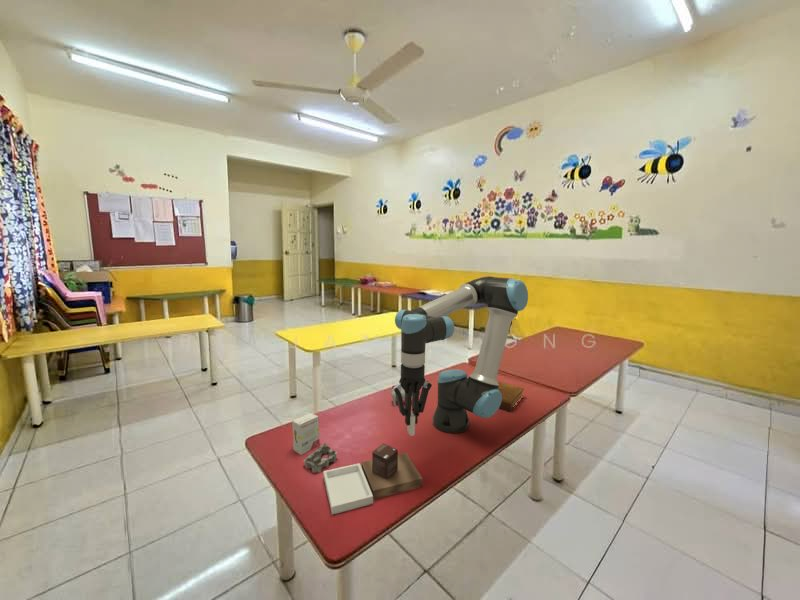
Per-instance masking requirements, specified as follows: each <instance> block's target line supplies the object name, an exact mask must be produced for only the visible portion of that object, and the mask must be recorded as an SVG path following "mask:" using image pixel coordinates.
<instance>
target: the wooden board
mask: <svg viewBox="0 0 800 600" xmlns="http://www.w3.org/2000/svg"><path fill="white" fill-rule="evenodd" d="M361 468H362V470H363V473H364V475H365V477H366V480H367V482H368V485H369V487H370V490H371V492H372V495H373V501H374V500H377V499H380V498H385V497H389V496H393V495H396V494H400V493H404V492H408V491H411V490H416V489H419V488H418V487H420V488H423V477H422V475H421V474H420V472H419V470H418V469H417V468H416V466H415V464H414V463H413V462H412V460H411V458H410V456H409V455H408V454H407V452H403V453H398V470H396V471H395V472H394V473H393V474H392V475H391V476H390V477H389V478H388V479H384V478H382V477H381V476H379V475H377V474H374V473H373V472H372V459H370V460H366V461H361ZM415 488H416V489H415Z"/></svg>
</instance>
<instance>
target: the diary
mask: <svg viewBox="0 0 800 600" xmlns="http://www.w3.org/2000/svg"><path fill="white" fill-rule="evenodd" d="M497 382H498V384H499V386H498V390H499V391H500V392H501V394H502V401H501V404H500V407H499V409H498V410H502V409H503V411H505V410H506V411H505V412H509V411H510V412H509V413H512V412H513V411H514V410H515V408H516V407H517V406H516V405H515V403H516V402H517V401H518V400H519V399H520V398H521V396H522V393H523V391H524V390H525V388H524V387H521V386H516V385H512V384H509V383H506V382H502V381H498V380H497ZM522 397H523V396H522ZM518 402H519V401H518ZM518 402H517V403H518ZM519 403H520V402H519ZM519 403H518V404H519ZM514 405H515V406H516V407H515V406H514ZM513 406H514V407H515V408H514V407H513ZM512 410H513V411H512ZM511 411H512V412H511Z"/></svg>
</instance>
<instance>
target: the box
mask: <svg viewBox="0 0 800 600" xmlns="http://www.w3.org/2000/svg"><path fill="white" fill-rule="evenodd" d="M398 454H399V451H398V448H396V447H392V446H391V445H389V444H386V443H382V444H381V445H380V446H378V447H377V448H376V449H374V450H373V451H372V454H371V455H372V457H371V458H372V459H371V460H372V472H373V473H374V474H377V475H379V476H381V477H382V478H384V479H388V478H389V477H390V476H391V475H392V474H393V473H394V472H395V471H396V470H398Z"/></svg>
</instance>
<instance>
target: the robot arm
mask: <svg viewBox="0 0 800 600" xmlns="http://www.w3.org/2000/svg"><path fill="white" fill-rule="evenodd" d="M528 300H529V292H528V288H527V286H526V283H525V282H523V280H521V279H516V278H512V277H510V278H508V277H498V276H490V275H489V276H483V277H478V278H475V279H472V280H470V281H468V282H465V283H463V284H461V285H460V286H459V288H457V289H456V290H453V291H451V292H448V293H446V294H444V295H443V296H440V297H438V298H436V299H434V300H431V301H429V302H426V303H425V304H422V305H420V306H418V307H416V308H413V309H411V310H409V309H400V310H398V312H397V313H396V315H395V317H394V324H395V326H396V328H397V329H399V330H400V337H401V338H400V340H401V342H400V345H401V346H400V348H401V349H400V363H401V364H400V379H399V380H398V384H396V385H392V387H391V388H392V389H391V390H394V391H395V394H396V398H397V399H396V403H397V406H398V410H399V411H398V412H399V413H400V414H401V415H402V416H403V417H404V421H405V422H404V423H405V424H406V426H407V427H406V428H407V429H406V430H407V431H406V432H407V433H408V435H409V436H410V437H411V436H415V435H416V434H415V433H416V432H415V431H416V425H417V424H418V422H419V421H418V420H419V418H418V417H419V416H420V414H421V413H424V411H425V407H426V403H427V400H428V396H429V392H430V390H431V388H432V385H433V384H432V383H430V381H429V380H426V378H425V371H426V369H425V367H426V365H425V363H426V344H429V343H433V342H438V341H444V340H447V339H450V338H451V337H453V335H454V332H455V324H454V321H453V320H452V319H451V318H450V317H449V315H451V314H453V313H455V312H457V311H459V310H461V309H463V308H466V307H467V306H468V307H472V306H475V305H487V307H486V310H487V311H488V312H489V316H488V319H487V323H486V327H485V329H484V333H483V337H482V340H481V341H482V342H481V345H480V349H479V353H478V357H477V360H476V364H475V367H474V371H473V372H471V374H469V375H468V373H467V371H465V370H462V369H458V368H457V369H445V370H443V371H440V373H438V379H437V405H436V408H435V410H434V413H433V417H432V425H433V427H435V428H436V429H438V430H439V431H442V432H444V433H449V434H450V433H451V434H458V433H462V432H465V431H466V430H467V429H468V428H469V426H470V425H469V424H470V419H469V415H468V413H467V411H468V412H470V413H471V414H473V415H475V416H476V417H477V416H478V417H480V418H482V419H483V418H484V419H488V418H491V417H492V416H494V414H495V413H497V411H498V410H500V409H499V407H500V404H501V401H502V394H501V392H500V391H499V390H498V386H499V384H498V382H499V381H498V380H497V377H498V373H499V369H500V366H501V363H502V358H503V355H504V351H505V347H506V343H507V339H508V335H509V332H510V328H511V324H512V320H513V319H514V318H516V317H517V316H518V314H519V312H521V311H523V310H524V309H525V308H527V304H528ZM497 381H498V382H497ZM401 387H402V388H403V389H404V390H405V399H402V395H401V393H400V392H401V389H402V388H401ZM420 390H421V391H420ZM403 400H404V401H403Z"/></svg>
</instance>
